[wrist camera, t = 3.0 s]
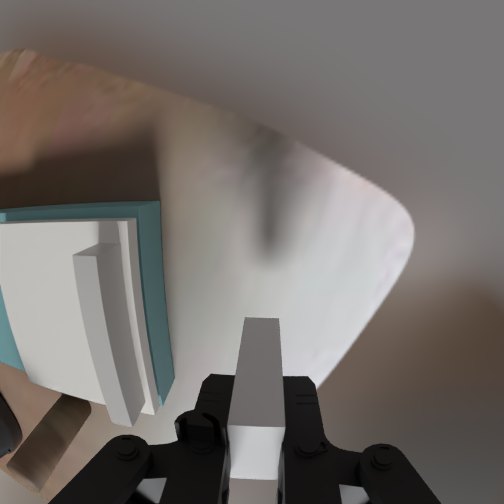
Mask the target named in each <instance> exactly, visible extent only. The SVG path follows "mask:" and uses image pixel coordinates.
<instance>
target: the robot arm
mask: <svg viewBox="0 0 504 504" xmlns="http://www.w3.org/2000/svg"><path fill="white" fill-rule="evenodd" d="M174 424H175V429H176V433H177V438H178V440H177V441H175V442H172V443H168V444H159V445H148V444H147V442H146V441H145V440H143V439H142V438H140V437H138V436H134V435H120V436H117V437H114V438H113V439H111V440H110V441H109V442H108V443H107V444H106V445H105V446H104V447H103V448H102V449H101V450H100V451H99V452H98V453H97V454H96V455H95V456H94V457H93V458H92V459H91V460H90V461H89V462H88V463H87V464H86V466H85V467H84V468H83V469H82V470H81V471H80V472H79V473H78V474H77V475H76V476H75V477H74V478H73V479H72V480H71V481H70V482H69V483H68V484H67V485H66V486H65V487H64V488H63V489H62V490H61V491H60V492H59V493H58V494H57V495H56V496H55V497H54V498H53V499H52V500H51V501H50V502H49V503H48V504H228V498H229V479H230V478H243V479H270V480H278V490H277V495H276V501H275V504H441V503H440V502H439V500H438V499H437V498H436V496H435V495H434V494H433V492H432V491H431V490H430V488H429V487H428V486H427V484H426V483H425V482H424V481H423V479H422V478H421V476H420V475H419V474H418V473H417V471H416V470H415V469H414V467H413V466H412V465H411V463H410V462H409V461H408V459H407V458H406V457H405V455H404V454H403V453H402V452H401V451H400V450H399V449H398V448H396V447H394V446H392V445H389V444H375V445H371V446H370V447H368V448H366V449H365V450H364V451H363V452H362V453H359V452H353V451H347V450H343V449H339V448H337V447H335V446H333V445H332V444H331V443H330V442H329V441H328V440H327V438H326V436H325V434H324V429H323V423H322V419H321V413H320V408H319V404H318V397H317V392H316V387H315V384H314V383H313V382H312V381H311V379H310V378H309V377H308V376H283V374H282V357H281V342H280V326H279V318H249V317H245V320H244V326H243V332H242V338H241V344H240V350H239V356H238V363H237V369H236V375H221V374H210V375H209V376H208V377H207V378H206V379H205V380H204V381H203V383H202V386H201V389H200V393H199V396H198V400H197V402H196V405H195V409H194V410H190V411H187V412H184V413H183V414H181V415H180V416H178V418H177V419H176V420H175V422H174ZM21 441H22V433H21V430H20V428H19V425H18V423H17V421H16V419H15V418H14V416H13V414H12V412H11V411H10V409H9V408H8V406H7V405H6V403H5V402H4V400H3V399H2V397H1V396H0V458H1V457H3V456H4V455H6V454H10V453H12V452H13V451H14V450H15V449H16V448H17V447H18V445H19V444H20V443H21Z"/></svg>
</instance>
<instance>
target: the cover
mask: <svg viewBox="0 0 504 504" xmlns="http://www.w3.org/2000/svg"><path fill="white" fill-rule="evenodd" d="M0 286H1V290H2V295H3V299H4V303H5V307H6V311H7V315H8V319H9V322H10V326H11V329H12V333H13V336H14V339H15V342H16V345H17V348H18V351H19V354H20V357H21V360H22V363H23V365H24V368H25V371H26V373H27V376H28V378H29V381H30V382H32V383H35V384H38V385H41V386H43V387H46V388H49V389H52V390H55V391H58V392H62V393H65V394H68V395H71V396H75V397H78V398H82V399H85V400H89V401H92V402H96V403H100V404H104V405H106V407H107V410H108V412H109V415H110V418H111V421H112V423H115V424H119V425H123V426H128V427H132V428H133V426H134V424H135V422H136V420H137V418H138V416H139V414H140V412H141V413H146V414H151V415H155V414H156V412H157V409H158V407H159V405H160V403H159V399H158V394H157V389H156V384H155V379H154V373H153V368H152V362H151V356H150V350H149V343H148V337H147V330H146V323H145V315H144V307H143V299H142V289H141V279H140V269H139V256H138V242H137V224H136V218H91V219H54V220H27V221H6V222H0Z"/></svg>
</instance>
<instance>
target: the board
mask: <svg viewBox="0 0 504 504" xmlns="http://www.w3.org/2000/svg"><path fill="white" fill-rule="evenodd" d="M91 218H136V224H137V242H138V256H139V269H140V279H141V289H142V299H143V307H144V315H145V323H146V330H147V337H148V343H149V350H150V356H151V362H152V368H153V373H154V379H155V384H156V389H157V394H158V399H159V403H160V405H159V406H163V404H164V402H165V400H166V397H167V395H168V393H169V391H170V388H171V386H172V384H173V381H174V379H175V377H174V370H173V363H172V355H171V347H170V339H169V330H168V321H167V311H166V300H165V288H164V275H163V259H162V240H161V213H160V201H125V202H99V203H79V204H61V205H46V206H33V207H21V208H9V209H0V222H6V221H27V220H54V219H91ZM0 362H2V363H5V364H7V365H10V366H13V367H15V368H18V369H20V370H23V371H25V368H24V365H23V363H22V360H21V357H20V354H19V351H18V348H17V345H16V342H15V339H14V336H13V333H12V329H11V326H10V322H9V319H8V315H7V311H6V307H5V303H4V299H3V295H2V290H1V286H0Z"/></svg>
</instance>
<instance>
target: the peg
mask: <svg viewBox="0 0 504 504" xmlns="http://www.w3.org/2000/svg"><path fill="white" fill-rule="evenodd" d="M90 414H91V407H90V405H89V403H88V402H87V400H85V399H82V398H78V397H75V396H71V395H68V394H65V393H63V394H62V395H61V397H60V398H59V399H58V400H57V401H56V403H55V404H54V405H53V406H52V408H51V409H50V410H49V411H48V412H47V414H46V415H45V416H44V417H43V419H42V420H41V421H40V422H39V424H38V425H37V426H36V427H35V429H34V430H33V431H32V432H31V434H30V435H29V436H28V437H27V439H26V440H25V441H24V443H23V444H22V445H21V446H20V448H19V449H18V450H17V452H16V453H15V454H14V456H13V457H12V458H11V460H10V461H9V462H8V464H7V468H8V470H9V471H10V472H11V473H12V474H13V475H14V476H15V477H16V478H17V479H18V480H19V481H20V482H21V483H23V484H24V485H25V486H27V487H28V488H30V489H31V490H33V491H36V492H40V491H41V489H42V488H43V486H44V484H45V483H46V481H47V480H48V478H49V476H50V475H51V473H52V472H53V470H54V469H55V467H56V465H57V464H58V462H59V461H60V459H61V458H62V456H63V454H64V453H65V451H66V450H67V448H68V447H69V445H70V444H71V442H72V441H73V439H74V438H75V436H76V435H77V433H78V431H79V430H80V428H81V427H82V425H83V424H84V422H85V421H86V419H87V418H88V417H89V415H90Z"/></svg>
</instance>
